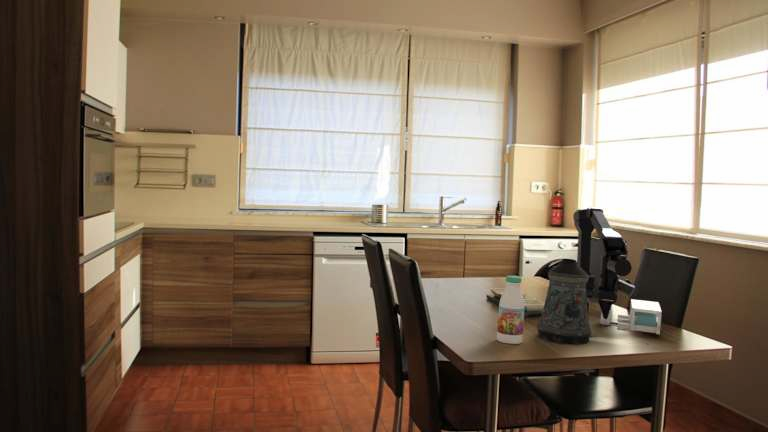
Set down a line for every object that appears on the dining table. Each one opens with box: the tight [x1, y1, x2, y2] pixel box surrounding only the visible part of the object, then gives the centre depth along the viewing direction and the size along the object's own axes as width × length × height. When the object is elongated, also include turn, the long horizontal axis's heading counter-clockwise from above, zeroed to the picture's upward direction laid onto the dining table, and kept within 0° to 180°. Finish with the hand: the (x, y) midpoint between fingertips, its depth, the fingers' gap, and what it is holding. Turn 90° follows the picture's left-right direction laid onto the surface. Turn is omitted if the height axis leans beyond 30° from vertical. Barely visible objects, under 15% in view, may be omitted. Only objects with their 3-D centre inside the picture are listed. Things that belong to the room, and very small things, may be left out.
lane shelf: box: [617, 298, 663, 335], centre depth 218 cm, size 21×18×9 cm
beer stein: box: [536, 258, 592, 346], centre depth 201 cm, size 16×19×25 cm
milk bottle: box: [496, 275, 526, 345], centre depth 192 cm, size 8×8×20 cm
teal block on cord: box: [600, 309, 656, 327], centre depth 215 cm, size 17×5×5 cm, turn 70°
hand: (605, 316), depth 217 cm, fingers open, 9 cm apart
